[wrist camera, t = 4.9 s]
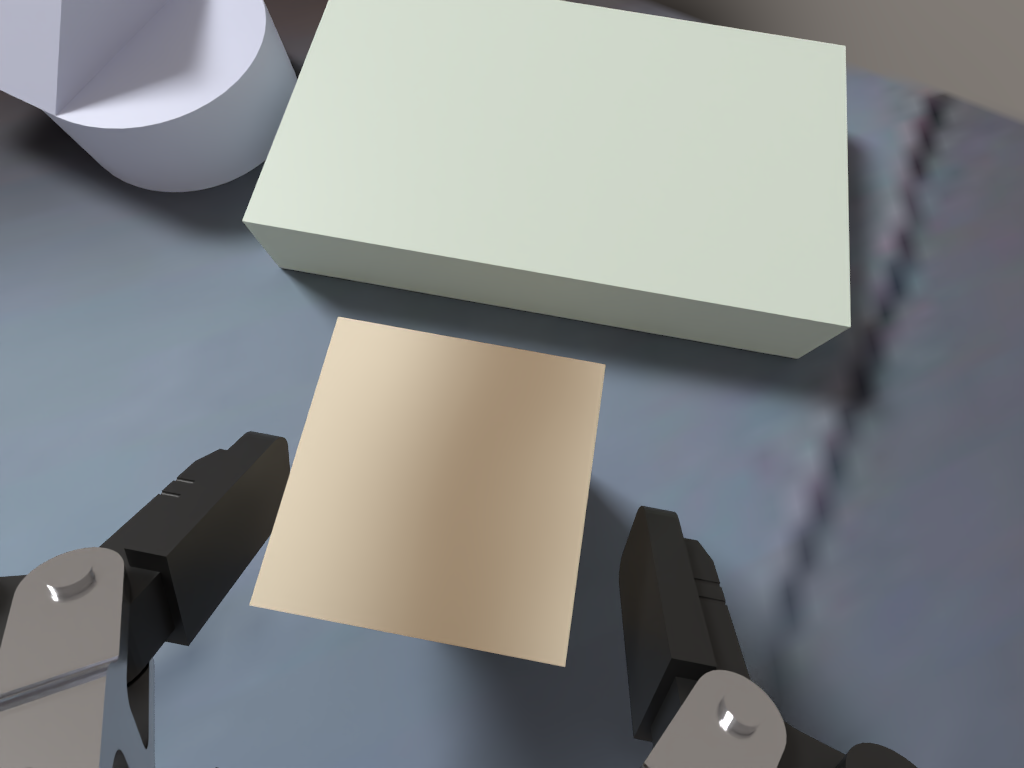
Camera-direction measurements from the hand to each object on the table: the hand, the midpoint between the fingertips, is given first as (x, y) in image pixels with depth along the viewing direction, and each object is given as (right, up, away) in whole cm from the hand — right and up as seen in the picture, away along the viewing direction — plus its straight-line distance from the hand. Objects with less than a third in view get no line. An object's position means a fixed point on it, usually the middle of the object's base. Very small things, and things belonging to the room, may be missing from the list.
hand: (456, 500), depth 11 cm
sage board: (+3, +11, +10) cm, 15 cm away
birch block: (0, -2, +6) cm, 6 cm away
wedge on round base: (-14, +16, +11) cm, 24 cm away
